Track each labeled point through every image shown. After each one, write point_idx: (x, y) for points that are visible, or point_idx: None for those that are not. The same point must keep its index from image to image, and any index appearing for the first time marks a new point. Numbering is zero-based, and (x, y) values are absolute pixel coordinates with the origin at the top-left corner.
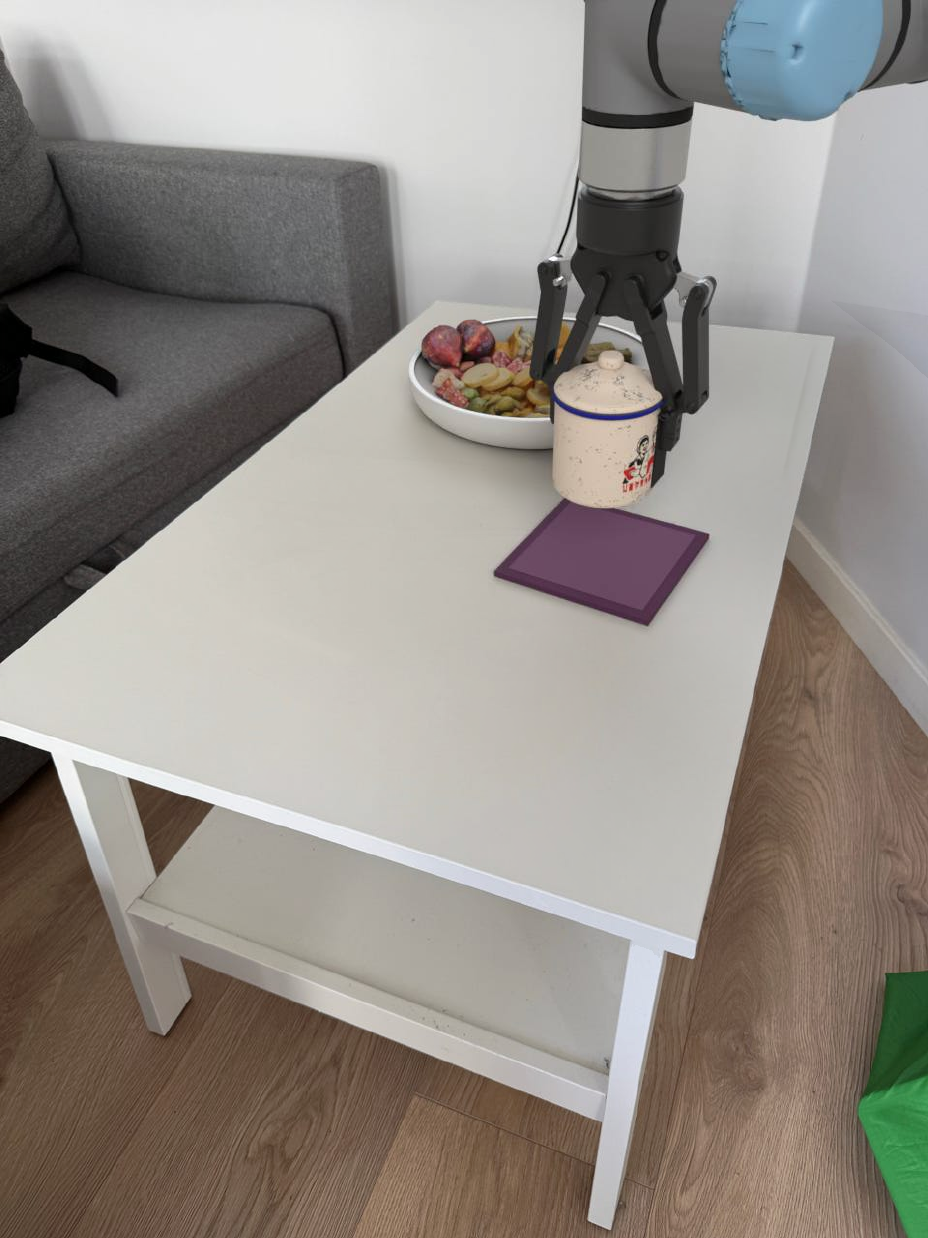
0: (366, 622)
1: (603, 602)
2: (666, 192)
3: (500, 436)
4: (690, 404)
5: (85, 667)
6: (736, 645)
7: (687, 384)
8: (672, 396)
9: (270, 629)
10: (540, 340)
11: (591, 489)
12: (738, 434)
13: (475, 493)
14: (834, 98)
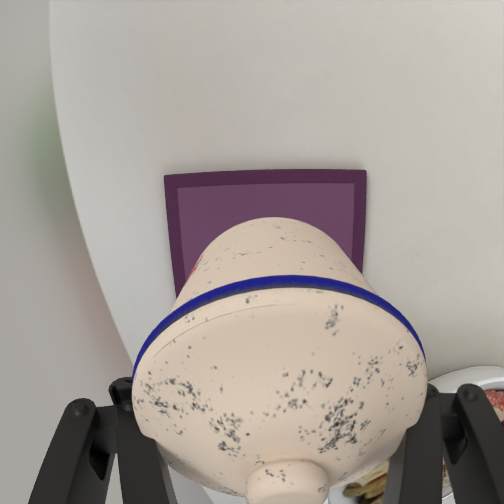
0: (426, 47)
1: (222, 178)
2: None
3: (445, 379)
4: (78, 412)
5: None
6: (87, 198)
7: (71, 446)
8: (116, 428)
9: (475, 20)
10: (500, 453)
11: (253, 226)
12: None
13: (441, 302)
14: None
